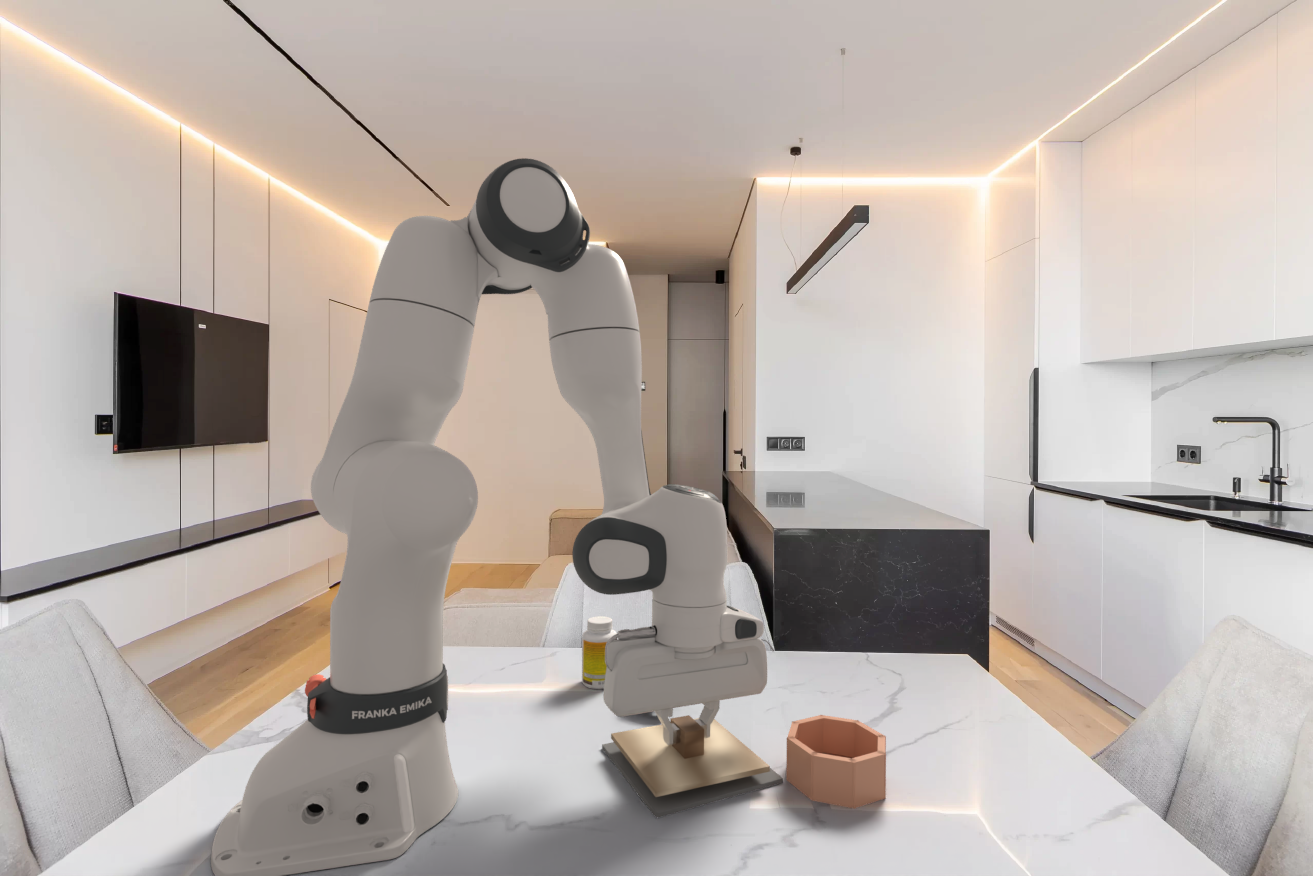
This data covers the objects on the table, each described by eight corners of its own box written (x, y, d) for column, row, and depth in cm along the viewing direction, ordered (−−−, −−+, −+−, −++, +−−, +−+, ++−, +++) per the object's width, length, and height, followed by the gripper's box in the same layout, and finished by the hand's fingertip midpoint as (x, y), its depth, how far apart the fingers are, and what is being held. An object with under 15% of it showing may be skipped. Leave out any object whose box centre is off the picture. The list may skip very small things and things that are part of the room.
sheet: (655, 797, 66) (656, 762, 66) (611, 738, 79) (611, 709, 79) (769, 771, 72) (770, 739, 72) (710, 720, 84) (711, 693, 84)
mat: (656, 819, 66) (656, 813, 66) (602, 749, 80) (602, 744, 80) (783, 783, 72) (783, 778, 72) (712, 725, 87) (712, 720, 87)
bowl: (830, 817, 66) (831, 769, 66) (770, 768, 76) (770, 726, 76) (906, 793, 71) (907, 748, 71) (840, 749, 80) (840, 710, 80)
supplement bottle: (619, 689, 99) (619, 623, 99) (583, 692, 98) (584, 625, 98) (614, 675, 105) (614, 613, 104) (580, 678, 103) (580, 615, 103)
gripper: (615, 639, 68) (612, 768, 68) (775, 621, 76) (773, 736, 76) (596, 624, 74) (594, 742, 74) (747, 608, 82) (745, 715, 82)
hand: (686, 739), depth 75 cm, fingers closed on sheet, 2 cm apart
